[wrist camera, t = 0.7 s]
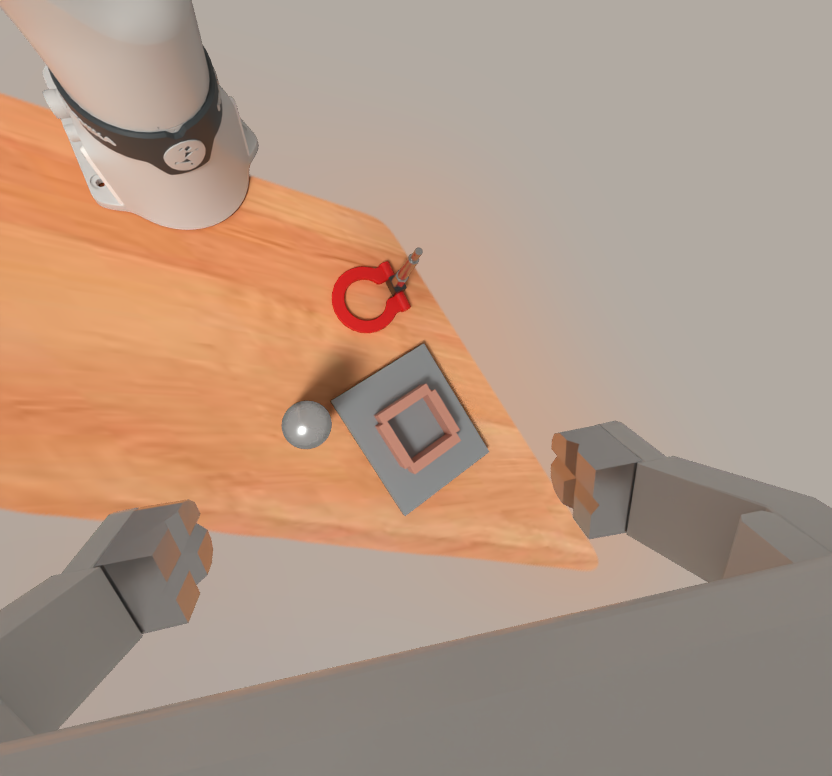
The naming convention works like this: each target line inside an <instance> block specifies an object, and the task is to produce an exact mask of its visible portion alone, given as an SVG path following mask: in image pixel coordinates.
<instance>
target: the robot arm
mask: <svg viewBox="0 0 832 776" xmlns="http://www.w3.org/2000/svg"><path fill="white" fill-rule="evenodd" d="M0 8H1V9H2V10H3V11H4V12H5V14H6V15H7V16H8V17H9V18H10V20H11V21H12V22H13V23H14V24H15V26H16V27H17V28H18V29H19V30H20V32H21V33H22V34H23V35H24V37H25V38H26V39H27V40H28V42H29V43H30V44H31V45H32V47H33V48H34V49H35V50H36V52H37V53H38V54H39V56H40V57H41V58H42V60H43V61H44V62H45V64H46V66H45V67H44V69H43V76H44V80H45V82H46V85H47V87H48V90H44V91H43V92H42V93H43V96H44V98H45V100H46V102H47V104H48V105H49V107H50V109H51V110H52V112H53V113H54V115H55V116H56V117H57V118H58V119H59V118H60V119H61V121H62V124H63V127H64V129H65V131H66V133H67V136H68V138H69V141H70V143H71V146H72V148H73V150H74V153H75V155H76V158H77V160H78V163H79V165H80V167H81V170H82V172H83V175H84V177H85V180H86V182H87V184H88V187H89V189H90V192H91V194H92V196H93V198H94V199H95V201H96V202H97V203H98V204H99V205H100V206H102V207H105V208H108V209H113V210H119V211H127V212H132V213H135V214H137V215H139V216H141V217H143V218H145V219H147V220H149V221H151V222H154V223H156V224H159V225H162V226H165V227H169V228H174V229H184V230H192V229H201V228H206V227H209V226H213V225H215V224H218V223H220V222H222V221H223V220H225V219H226V218H228V217H229V216H231V215H232V214H233V213H234V212H235V211H236V210H237V209H238V207H239V206H240V205H241V203H242V201H243V200H244V197H245V195H246V192H247V189H248V183H249V167H250V163H251V162H252V160H253V159H254V157H255V155H256V153H257V151H258V141H257V138H256V136H255V134H254V133H253V132H252V131H251V130H250V128H249V127H248V126H247V125H246V124H245V123H244V122H243V120H242V119H241V118H240V116H239V112H238V109H237V106H236V103H235V101H234V99H233V98H232V97H230V96H228V95H227V93H226V92H225V91H224V90H223V89H222V88H221V86H220V85H219V83H218V79H217V75H216V72H215V70H214V67H213V66H212V63H211V60H210V58H209V56H208V53H207V51H206V49H205V48H204V46H203V45H202V41H201V37H200V33H199V29H198V25H197V20H196V16H195V12H194V8H193V5H192V0H0ZM100 183H104V184H105V185H104V186H103V187H99V184H100ZM552 450H553V451H554V452H555V454H556V455H557V457H556V458H555V460H554V461H553V463H552V464H551V479H552V483H553V488H554V490H555V492H556V494H557V496H558V498H559V499H560V501H561V502H562V503H563V504H564V505H566V506H568V507H570V508H573V518H574V520H575V521H576V523H577V524H578V525H579V527H580V528H581V529H582V531H583V532H584V533H585V535H586V536H587V537H588V539H593V538H599V537H604V536H610V535H615V534H621V533H627V535H628V536H630V537H632V538H634V539H635V540H637V541H639V542H641V543H642V544H644V545H645V546H647V547H649V548H651V549H652V550H654V551H656V552H657V553H659V554H661V555H663V556H664V557H666V558H668V559H669V560H671V561H673V562H675V563H676V564H678V565H680V566H681V567H683V568H685V569H686V570H688V571H690V572H692V573H693V574H695V575H697V576H698V577H700V578H702V579H703V580H705V581H707V582H708V583H704V584H700V585H695V586H691V587H686V588H682V589H677V590H673V591H668V592H664V593H660V594H655V595H651V596H646V597H642V598H637V599H633V600H629V601H625V602H620V603H615V604H611V605H606V606H602V607H598V608H594V609H589V610H584V611H580V612H576V613H571V614H567V615H562V616H558V617H554V618H549V619H545V620H540V621H536V622H532V623H527V624H523V625H518V626H514V627H510V628H505V629H501V630H496V631H492V632H487V633H483V634H478V635H474V636H469V637H465V638H461V639H456V640H452V641H448V642H443V643H439V644H435V645H430V646H425V647H421V648H416V649H412V650H408V651H403V652H399V653H394V654H390V655H386V656H381V657H377V658H372V659H368V660H364V661H359V662H355V663H350V664H346V665H341V666H337V667H333V668H328V669H324V670H319V671H315V672H311V673H306V674H302V675H298V676H293V677H289V678H284V679H280V680H275V681H271V682H266V683H262V684H258V685H253V686H249V687H244V688H240V689H236V690H231V691H227V692H222V693H218V694H214V695H210V696H205V697H201V698H196V699H191V700H187V701H183V702H178V703H174V704H169V705H165V706H161V707H157V708H152V709H148V710H143V711H139V712H134V713H130V714H126V715H121V716H117V717H112V718H108V719H104V720H99V721H95V722H90V723H86V724H81V725H77V726H72V727H69V728H64V729H59V727H60V726H61V725H62V724H63V723H64V722H65V721H66V720H67V719H68V718H69V717H70V715H71V714H72V713H73V712H74V711H75V710H76V709H77V708H78V707H79V706H80V704H81V703H82V702H83V701H84V700H85V699H86V698H87V697H88V696H89V695H90V693H91V692H92V691H93V690H94V689H95V688H96V687H97V686H98V685H99V684H100V682H102V680H103V679H104V678H105V677H106V676H107V675H108V674H109V673H110V672H111V671H112V669H113V668H114V667H115V666H116V665H117V664H118V663H119V662H120V661H121V660H122V659H123V657H124V656H125V655H126V654H127V653H128V652H129V651H130V650H131V649H132V648H133V646H134V645H135V644H136V643H137V642H138V641H139V640H140V639H141V638H142V636H143V635H142V634H144V633H148V632H152V631H157V630H161V629H165V628H170V627H174V626H178V625H182V624H186V623H188V622H189V620H190V617H191V615H192V613H193V610H194V608H195V605H196V602H197V600H198V598H199V595H200V592H199V590H198V587H197V586H196V585H197V584H198V583H199V582H200V581H201V580H202V579H203V578H205V577H206V576H207V575H208V572H209V569H210V566H211V563H212V555H213V547H212V541H211V537H210V535H209V532H208V530H207V529H205V528H204V527H202V526H200V525H199V524H197V521H198V519H199V516H200V512H199V510H198V508H197V506H196V504H195V502H193V501H191V500H182V501H176V502H170V503H163V504H157V505H151V506H145V507H140V508H133V509H127V510H122V511H117V512H114V513H112V514H110V515H108V516H107V518H106V519H105V520H104V521H103V522H102V524H101V525H100V526H99V527H98V529H97V530H96V531H95V532H94V534H93V535H92V536H91V537H90V539H89V540H88V541H87V542H86V543H85V545H84V546H83V547H82V548H81V550H80V551H79V552H78V553H77V555H76V556H75V557H74V558H73V560H72V561H71V562H70V563H69V565H68V566H67V567H66V568H65V570H64V571H63V572H62V573H61V574H59V575H54V576H51V577H49V578H48V579H46V580H45V581H43V582H42V583H40V584H39V585H37V586H36V587H34V588H33V589H31V590H30V591H28V592H27V593H25V594H24V595H22V596H21V597H19V598H18V599H16V600H15V601H13V602H12V603H10V604H9V605H7V606H6V607H4V608H3V609H1V610H0V776H832V508H830V507H829V506H827V505H826V504H824V503H822V502H821V501H819V500H817V499H816V498H813V497H810V496H807V495H803V494H800V493H797V492H793V491H790V490H786V489H783V488H780V487H776V486H773V485H770V484H766V483H763V482H759V481H756V480H753V479H750V478H746V477H743V476H739V475H736V474H733V473H729V472H726V471H722V470H719V469H716V468H712V467H709V466H706V465H703V464H699V463H696V462H692V461H689V460H686V459H682V458H678V457H675V456H671V457H666V456H665V455H664V454H662V453H661V452H660V451H658V450H657V449H656V448H654V447H653V446H652V445H650V444H649V443H648V442H647V441H645V440H644V439H643V438H641V437H640V436H639V435H637V434H636V433H635V432H633V431H632V430H631V429H629V428H628V427H627V426H626V425H624V424H623V423H621V422H618V421H612V422H607V423H603V424H598V425H595V426H591V427H586V428H581V429H575V430H571V431H565V432H560V433H555V434H554V436H553V439H552ZM58 729H59V730H58Z"/></svg>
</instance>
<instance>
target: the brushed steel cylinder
mask: <svg viewBox="0 0 832 776" xmlns="http://www.w3.org/2000/svg"><path fill="white" fill-rule="evenodd" d="M331 427H332V422H331V417H330V415H329V413H328V411H327V410H326V409H325V408H324V407H323V406H322V405H320V404H319V403H316V402H313V401H301V402H298V403H296V404H294V405H292V406H291V407H290V408H289V409H288V410H287V411H286V413H285V415H284V417H283V420H282V431H283V434H284V436H285V438H286V440H287V441H288V442H289V443H290V444H292V445H293V446H295V447H297V448H301V449H311V448H315V447H317V446H319V445H321V444H322V443H323V442H324V441H325V440H326V439H327V438H328V436H329V434H330V431H331Z"/></svg>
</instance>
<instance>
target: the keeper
mask: <svg viewBox="0 0 832 776" xmlns="http://www.w3.org/2000/svg"><path fill="white" fill-rule="evenodd" d="M330 402H331V403H332V405H333V406H334V408H335V409H336V411H337V412H338V414H339V416H340V417H341V419H342V420H343V422H344V423H345V425H346V426H347V428H348V430H349V431H350V433H351V434H352V436H353V437H354V439H355V440H356V442H357V444H358V445H359V447H360V448H361V450H362V451H363V453H364V454H365V456H366V458H367V459H368V461H369V462H370V464H371V465H372V467H373V468H374V470H375V472H376V473H377V475H378V476H379V478H380V479H381V481H382V483H383V484H384V486H385V487H386V489H387V490H388V492H389V493H390V495H391V497H392V498H393V500H394V501H395V503H396V504H397V506H398V507H399V509H400V511H401V512H402V514H403V515H404V516H406V515H407V514H409V513H410V512H411V511H413V510H414V509H415V508H416V507H418V506H419V505H420V504H422V503H423V502H424V501H426V500H427V499H428V498H430V497H431V496H432V495H433V494H435V493H436V492H437V491H439V490H440V489H441V488H443V487H444V486H445V485H447V484H448V483H449V482H450V481H452V480H453V479H454V478H456V477H457V476H458V475H460V474H461V473H462V472H464V471H465V470H466V469H468V468H469V467H470V466H471V465H473V464H474V463H475V462H477V461H478V460H479V459H481V458H482V457H483V456H485V455H486V454H487V453H488V452H489V450H488V449H487V447H486V446H485V444H484V442H483V441H482V439H481V437H480V436H479V434H478V432H477V431H476V429H475V427H474V426H473V424H472V422H471V421H470V419H469V417H468V416H467V414H466V412H465V411H464V409H463V407H462V406H461V404H460V402H459V401H458V399H457V397H456V396H455V394H454V392H453V391H452V389H451V387H450V386H449V384H448V383H447V381H446V379H445V378H444V376H443V374H442V373H441V371H440V369H439V368H438V366H437V364H436V363H435V361H434V359H433V358H432V356H431V354H430V353H429V351H428V349H427V348H426V346H425V344H422V345H420V346H418V347H417V348H415V349H414V350H412V351H410V352H409V353H407V354H406V355H404V356H402V357H401V358H399V359H398V360H396V361H394V362H393V363H391V364H389V365H388V366H386V367H385V368H383V369H381V370H380V371H378V372H377V373H375V374H373V375H372V376H370V377H369V378H367V379H365V380H364V381H362V382H360V383H359V384H357V385H356V386H354V387H352V388H351V389H349V390H348V391H346V392H344V393H343V394H341V395H340V396H338V397H336V398H335V399H333V400H331V401H330Z"/></svg>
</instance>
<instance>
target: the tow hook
mask: <svg viewBox="0 0 832 776" xmlns="http://www.w3.org/2000/svg"><path fill="white" fill-rule="evenodd" d="M421 254H422V249H421V248H416V249H415V251H414V252H413V253H412V254H410V255H409V257H408V258H407V260H406V261H405V263H404V264H403V266H402V268H401V269H400V270H398V272H397V273H396V274H394V272H393V270H392V268H391V266H390V264H389V262H388V261H386V262H383V263H382V264H380V265H379V267H377V268H375V269H374V268H371V267H356V268H352V269H350V270H348V271H346V272H345V273H343V274H342V275H341V276H340V277H339V278H338V280H337V282H336V283H335V285H334V288H333V292H332V305H333V309H334V312H335V314H336V315H337V317H338V319H339V320H340V321H341V322H342V323H343V324H344V325H345V326H346V327H348V328H350V329H351V330H353V331H357V332H360V333H373V332H377V331H379V330H381V329H383V328H385V327H386V326H387V325H388V324H389V323H390V322H391V321H392V320H393V318H394V317H395V315H396V313H398V312H400V311H401V312H404V311H406V310H408V309H409V308H411V306H410V304H409V302H408V300H407V298H406V296H405V294H404V290H405V289H406V288H407V287H406V285H405V282H406V281H407V279H408V278H409V274H410V273H411V272H412V270H413V269H414V268H415V266H416V265H417V263H418V262H419V257H420V256H421ZM358 280H370V281H372V282H374V283H376V284H382V283H384V282H386V284H387V286H388V288H389V290H390V292H391V294H392V296H393V297H392V298H390V299H388V300H387V302H386V307H385V310H384V312H383V314H382V315H381V316H379V317H378V318H376V319H374V320H370V321H365V320H360V319H357V318H356V317H354V316H353V315H352V314H351V313H350V312H349V311H348V309H347V308H346V305H345V302H344V295H345V291H346V290H347V288H348V286H350V285H351V284H352V283H353V282H355V281H358Z"/></svg>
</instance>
